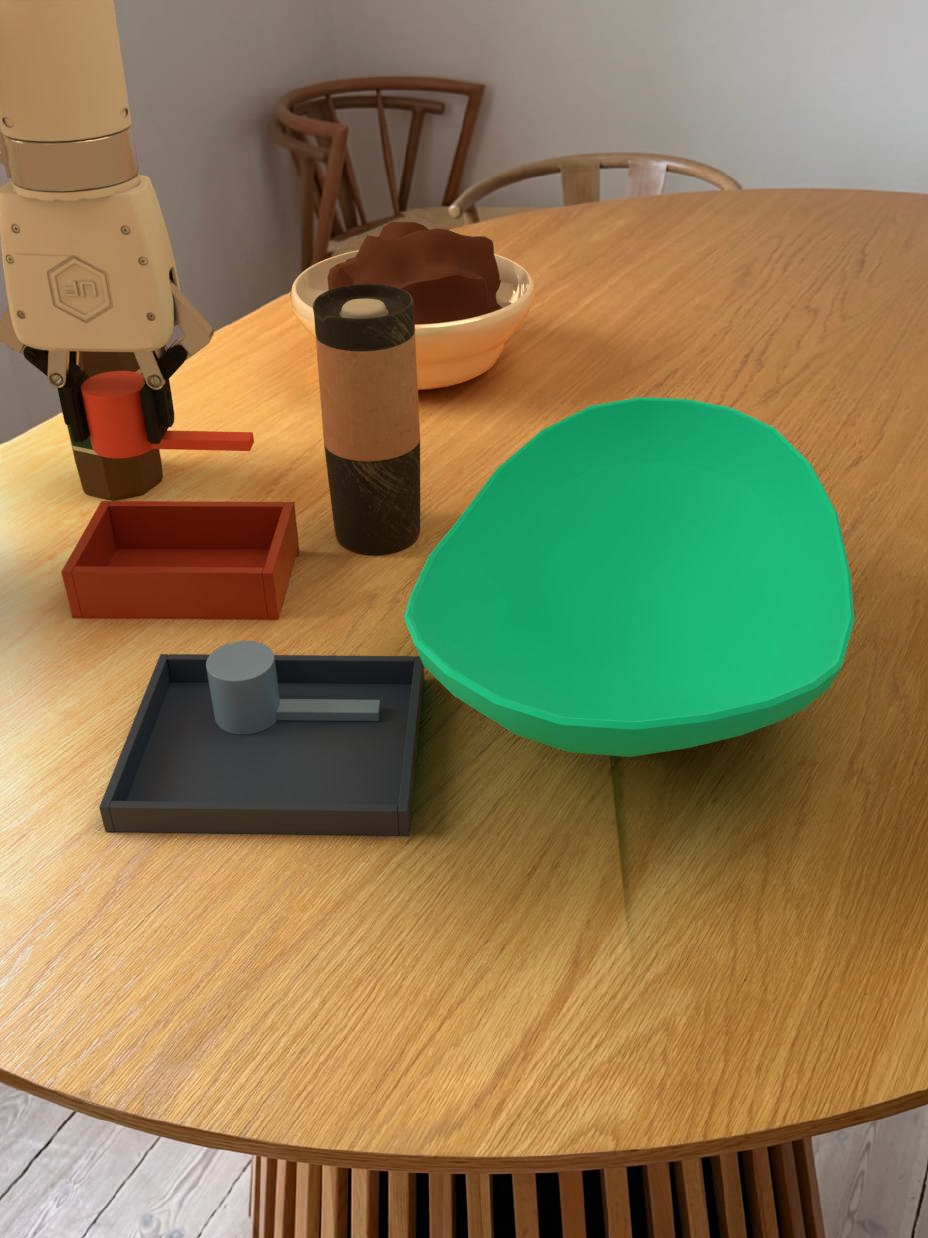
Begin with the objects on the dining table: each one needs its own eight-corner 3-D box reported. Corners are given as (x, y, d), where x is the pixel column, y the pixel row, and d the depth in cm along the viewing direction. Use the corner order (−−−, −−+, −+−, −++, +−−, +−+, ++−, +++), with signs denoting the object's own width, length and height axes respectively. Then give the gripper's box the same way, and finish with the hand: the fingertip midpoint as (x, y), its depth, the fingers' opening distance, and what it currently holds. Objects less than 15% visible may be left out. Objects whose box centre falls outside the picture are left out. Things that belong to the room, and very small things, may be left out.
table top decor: (508, 524, 102) (509, 377, 95) (848, 573, 95) (878, 419, 88) (324, 852, 71) (304, 672, 64) (808, 962, 64) (849, 774, 57)
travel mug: (435, 516, 103) (428, 287, 92) (406, 563, 97) (395, 323, 86) (351, 505, 105) (334, 278, 94) (317, 549, 99) (295, 313, 88)
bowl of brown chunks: (327, 436, 116) (314, 282, 108) (277, 342, 136) (263, 205, 127) (569, 399, 123) (575, 250, 114) (488, 314, 142) (488, 182, 134)
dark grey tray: (105, 836, 73) (98, 807, 71) (165, 681, 85) (160, 653, 84) (409, 840, 72) (407, 811, 71) (424, 683, 84) (423, 655, 83)
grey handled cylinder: (208, 734, 80) (199, 680, 77) (221, 693, 83) (213, 639, 81) (377, 736, 79) (373, 682, 77) (383, 694, 83) (379, 641, 80)
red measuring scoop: (84, 458, 82) (71, 396, 80) (103, 429, 86) (92, 369, 83) (245, 461, 82) (238, 399, 79) (258, 432, 86) (251, 372, 83)
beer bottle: (174, 460, 113) (130, 196, 99) (154, 501, 106) (105, 225, 93) (90, 460, 113) (35, 197, 99) (66, 501, 106) (4, 226, 93)
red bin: (72, 622, 91) (60, 571, 89) (111, 548, 100) (101, 500, 97) (279, 623, 91) (272, 573, 88) (299, 549, 99) (294, 501, 97)
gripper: (-91, 174, 70) (-18, 457, 81) (197, 178, 70) (232, 462, 80) (-40, 142, 77) (21, 409, 87) (225, 145, 76) (254, 413, 86)
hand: (122, 431), depth 84 cm, fingers closed on red measuring scoop, 4 cm apart
